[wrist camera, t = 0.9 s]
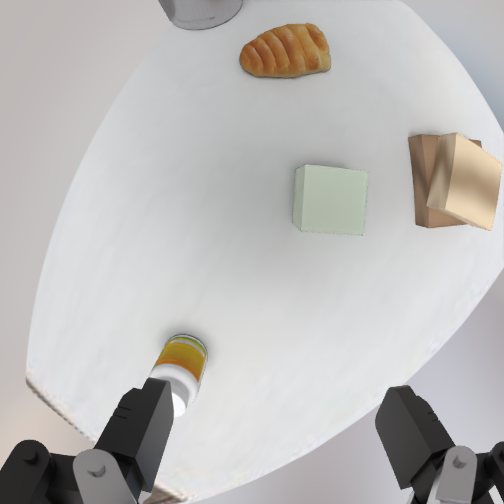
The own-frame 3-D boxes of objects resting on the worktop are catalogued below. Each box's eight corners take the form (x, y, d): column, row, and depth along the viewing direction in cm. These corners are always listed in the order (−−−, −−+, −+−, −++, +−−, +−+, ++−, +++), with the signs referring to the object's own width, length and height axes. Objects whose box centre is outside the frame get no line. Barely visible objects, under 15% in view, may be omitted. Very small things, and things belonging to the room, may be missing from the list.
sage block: (295, 169, 28) (305, 164, 22) (346, 174, 28) (368, 171, 22) (292, 222, 29) (301, 231, 23) (343, 226, 29) (363, 235, 23)
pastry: (252, 93, 26) (251, 80, 22) (231, 46, 25) (227, 29, 21) (333, 72, 25) (342, 58, 21) (308, 27, 24) (314, 10, 20)
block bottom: (405, 138, 27) (421, 134, 23) (464, 143, 26) (480, 140, 23) (413, 223, 29) (428, 228, 25) (469, 218, 28) (486, 222, 25)
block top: (438, 136, 23) (456, 132, 20) (483, 163, 23) (502, 162, 20) (426, 206, 25) (445, 209, 22) (472, 226, 25) (491, 231, 22)
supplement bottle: (164, 331, 32) (134, 378, 22) (207, 336, 32) (191, 387, 22) (167, 366, 33) (143, 417, 23) (208, 371, 33) (194, 426, 23)
